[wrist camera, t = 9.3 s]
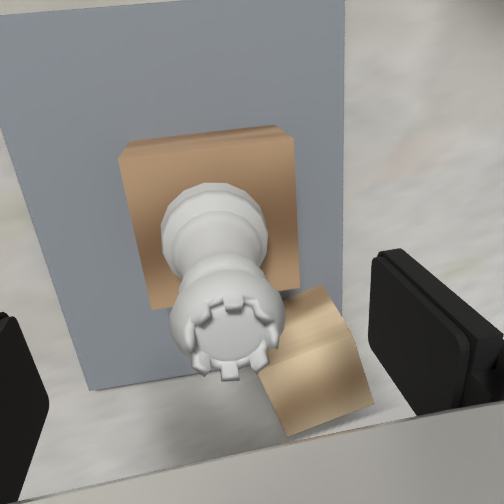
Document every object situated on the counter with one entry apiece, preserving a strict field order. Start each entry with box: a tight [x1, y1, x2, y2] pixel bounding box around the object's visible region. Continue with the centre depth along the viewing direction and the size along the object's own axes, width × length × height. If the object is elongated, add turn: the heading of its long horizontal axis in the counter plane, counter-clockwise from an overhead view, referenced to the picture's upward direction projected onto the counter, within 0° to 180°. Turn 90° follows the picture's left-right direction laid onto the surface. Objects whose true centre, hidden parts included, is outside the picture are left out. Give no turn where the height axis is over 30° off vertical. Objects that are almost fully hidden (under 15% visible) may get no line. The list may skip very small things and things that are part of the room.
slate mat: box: [0, 0, 345, 391], centre depth 22 cm, size 20×16×1 cm
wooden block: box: [118, 125, 300, 310], centre depth 20 cm, size 7×7×4 cm
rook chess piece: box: [161, 183, 286, 381], centre depth 14 cm, size 4×4×8 cm
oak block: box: [257, 285, 374, 437], centre depth 24 cm, size 5×5×5 cm
